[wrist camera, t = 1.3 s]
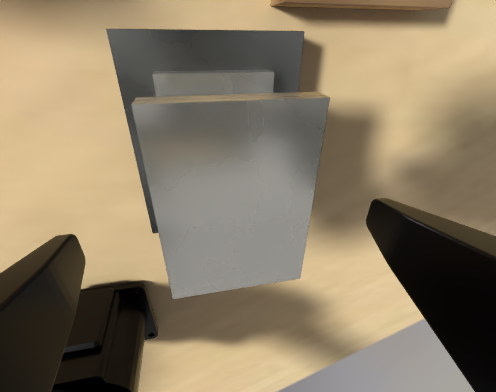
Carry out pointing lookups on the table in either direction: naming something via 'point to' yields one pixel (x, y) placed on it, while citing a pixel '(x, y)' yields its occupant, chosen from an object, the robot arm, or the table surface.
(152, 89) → the stand
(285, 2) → the stand
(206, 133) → the block
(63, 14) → the table surface
